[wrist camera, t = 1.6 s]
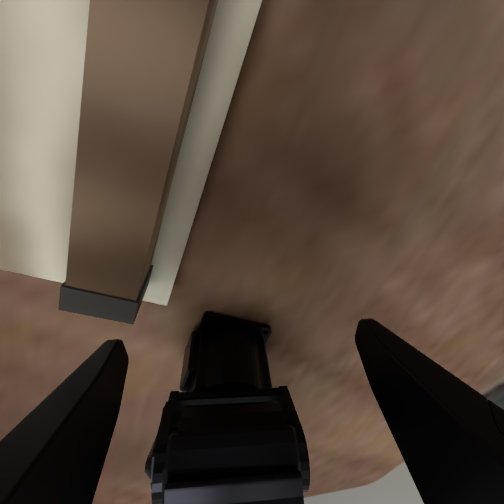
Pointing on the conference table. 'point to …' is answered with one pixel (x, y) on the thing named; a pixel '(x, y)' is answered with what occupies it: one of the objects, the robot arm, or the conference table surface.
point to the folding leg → (129, 145)
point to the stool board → (67, 127)
